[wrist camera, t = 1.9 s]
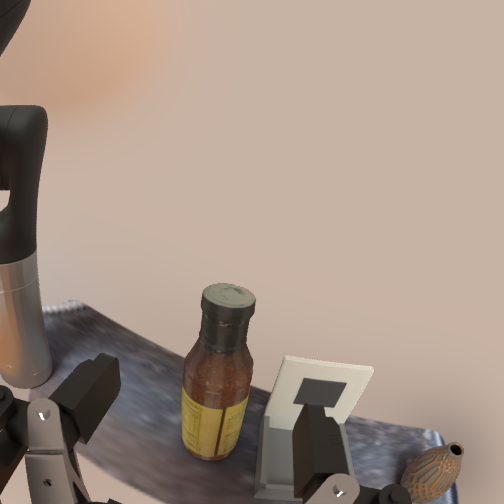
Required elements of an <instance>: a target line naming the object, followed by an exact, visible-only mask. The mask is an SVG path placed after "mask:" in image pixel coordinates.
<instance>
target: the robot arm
mask: <svg viewBox="0 0 504 504" xmlns="http://www.w3.org/2000/svg"><path fill="white" fill-rule="evenodd" d="M30 2H31V0H0V56H1V54H2V53H3V51H4V50H5V48H6V46H7V45H8V43H9V42H10V40H11V39H12V37H13V35H14V34H15V32H16V30H17V29H18V27H19V25H20V23H21V22H22V20H23V18H24V16H25V14H26V12H27V10H28V7H29V5H30ZM47 130H48V119H47V113H46V111H45V109H44V108H43V107H41V106H35V105H7V106H0V190H10V197H9V202H8V205H7V206H6V207H5V208H4V209H3V210H2V211H1V212H0V375H1V377H2V378H3V380H4V381H5V382H6V383H8V384H9V385H11V386H13V387H17V388H23V389H27V388H33V387H36V386H39V385H41V384H42V383H44V382H45V381H46V380H47V379H48V378H49V377H50V375H51V373H52V370H53V362H52V358H51V354H50V349H49V345H48V340H47V335H46V329H45V324H44V318H43V311H42V305H41V297H40V288H39V278H38V268H37V244H36V220H37V198H38V188H39V180H40V173H41V167H42V161H43V156H44V150H45V145H46V137H47ZM120 387H121V381H120V371H119V361H118V359H117V358H115V357H113V356H110V355H107V354H105V353H100V354H99V355H98V356H97V357H96V358H95V359H94V361H92V360H90V359H88V360H86V361H84V362H82V363H80V364H79V365H78V366H77V367H76V368H75V369H74V370H73V372H72V373H71V374H70V375H69V376H68V378H66V379H65V380H64V381H63V382H62V384H61V385H60V386H59V387H58V388H57V389H56V390H55V391H54V392H53V394H52V395H51V396H50V397H49V398H48V399H46V398H39V399H36V400H34V401H32V402H27V401H23V400H20V399H17V398H14V396H13V394H12V392H11V390H10V389H9V388H8V387H6V386H3V385H0V431H1V432H0V495H1V493H2V491H3V489H4V487H5V486H6V484H7V483H8V480H9V479H10V477H11V476H12V474H13V472H14V471H15V469H16V468H17V466H18V464H19V463H20V461H21V460H22V458H23V456H24V455H25V464H26V472H27V479H28V485H29V491H30V497H31V502H32V504H121V503H119V502H117V501H114V500H112V499H109V500H108V502H107V503H103V502H91V500H90V497H89V494H88V492H87V490H86V488H85V485H84V482H83V479H82V475H81V472H80V468H79V464H78V460H77V455H76V451H75V447H74V446H75V444H76V443H77V441H79V442H81V443H83V444H85V445H86V444H87V442H88V441H89V439H90V438H91V436H92V434H93V433H94V431H95V430H96V428H97V427H98V425H99V423H100V422H101V420H102V419H103V417H104V416H105V414H106V413H107V411H108V409H109V408H110V406H111V405H112V403H113V402H114V400H115V399H116V397H117V396H118V394H119V391H120ZM28 449H29V451H27V450H28ZM292 451H293V481H294V498H301V499H302V502H303V504H412V501H411V497H410V494H409V492H408V490H407V489H406V488H405V487H403V486H401V485H398V484H390V485H387V486H385V487H384V488H383V489H382V490H379V489H374V488H368V487H364V486H361V485H359V484H358V482H357V481H356V480H355V479H354V478H353V477H351V476H350V475H349V471H348V466H347V461H346V456H345V451H344V446H343V441H342V437H341V432H340V427H339V425H338V423H337V422H336V421H335V419H334V418H333V417H327V416H326V414H325V409H324V405H322V404H312V403H305V404H304V406H303V408H302V410H301V412H300V414H299V416H298V418H297V420H296V422H295V425H294V427H293V432H292ZM0 504H1V500H0Z"/></svg>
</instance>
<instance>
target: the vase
mask: <svg viewBox="0 0 504 504" xmlns="http://www.w3.org/2000/svg"><path fill="white" fill-rule="evenodd" d="M463 454H464V449H463V447H462V446H461V445H460V444H459V443H457V442H452V443H450V444H448V445H445V446H438V447H434V448H431V449H428V450H426V451H425V452H423V453H421V454H420V455H419V456H417V457H416V458H415V459H414V460H413V461H412V462H411V463H410V464H409V466H408V467H407V468H406V470H405V471H404V473H403V476H402V478H401V483H400V485H401V486H403V487H405V488H406V489H407V490H408V492H409V494H410V497H411V501H412V502H415V503H424V502H428V501H431V500H434V499H436V498H438V497H439V496H441V495H442V494H443V493H445V492H446V491H447V490H448V489H449V488H450V487H451V486H452V485H453V483H454V482H455V480H456V479H457V477H458V475H459V472H460V468H461V459H462V456H463Z"/></svg>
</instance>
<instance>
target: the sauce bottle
mask: <svg viewBox="0 0 504 504" xmlns="http://www.w3.org/2000/svg"><path fill="white" fill-rule="evenodd" d="M255 302H256V299H255V296H254V294H252V293H251V292H250V291H249V290H247V289H245V288H243V287H240V286H235V285H233V284H227V283H218V284H213V285H210V286H208V287H206V288H205V289H204V290H203V294H202V300H201V308H202V311H203V312H202V322H201V330H200V332H199V338H198V340H197V342H196V343H195V345H194V347H193V348H192V349H191V351H190V352H189V353H188V355H187V356H186V358H185V362H184V374H183V384H182V438H183V442H184V445H185V447H186V448H187V449H188V451H189V452H190V453H191V454H192V455H193V456H195V457H196V458H200V459H202V460H208V461H218V460H221V459H224V458H226V457H227V456H228V455H230V453H232V452H233V450H234V447H235V445H236V443H237V440H238V437H239V433H240V429H241V425H242V421H243V417H244V413H245V409H246V405H247V401H248V397H249V392H250V383H251V379H252V374H253V370H252V369H253V359H252V357H251V355H250V352H249V350H248V347H247V344H246V341H247V337H246V336H247V332H248V325H249V320H250V318H251V317H252V316H253V314H254V311H255Z"/></svg>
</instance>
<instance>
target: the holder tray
mask: <svg viewBox="0 0 504 504" xmlns="http://www.w3.org/2000/svg"><path fill="white" fill-rule="evenodd" d="M373 372H374V369H373V367H372V366H362V365H352V364H343V363H335V362H327V361H320V360H313V359H307V358H300V357H293V356H288V355H285V356H284V359H283V362H282V365H281V367H280V370H279V373H278V376H277V379H276V382H275V384H274V387H273V390H272V393H271V396H270V398H269V401H268V404H267V406H266V409H265V412H264V414H263V417H262V420H261V422H260V425H259V437H258V450H257V462H256V474H255V486H254V497H253V498H259V499H270V500H284V501H302V499H301V498H294V481H293V451H292V432H293V427H294V425H295V422H296V420H297V418H298V416H299V414H300V412H301V410H302V408H303V406H304V404H305V403H312V404H322V405H324V409H325V414H326V416H327V417H333V418H334V419H335V421H336V422H337V423H338V425H339V427H340V432H341V437H342V441H343V446H344V451H345V456H346V461H347V466H348V471H349V475H350V476H351V477H353V478H354V479H355V480H356V478H355V473H354V468H353V463H352V458H351V454H350V449H349V444H348V440H347V435H346V431H345V426H344V422H345V421H346V419H347V418H348V416H349V414H350V413H351V411H352V409H353V408H354V406H355V404H356V403H357V401H358V399H359V397H360V396H361V394H362V392H363V391H364V389H365V387H366V385H367V383H368V381H369V380H370V378H371V376H372V374H373Z"/></svg>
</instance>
